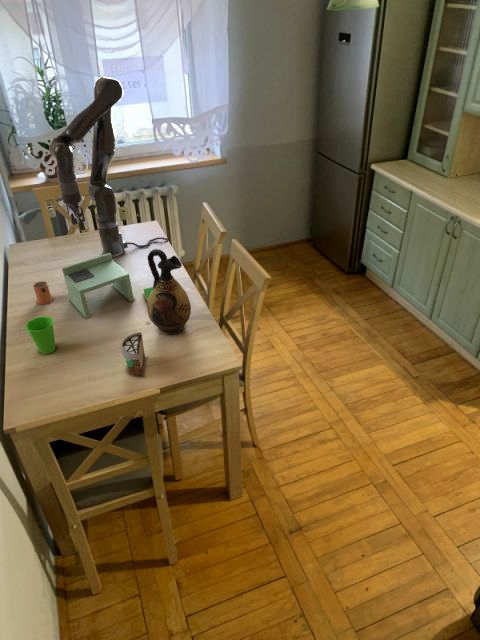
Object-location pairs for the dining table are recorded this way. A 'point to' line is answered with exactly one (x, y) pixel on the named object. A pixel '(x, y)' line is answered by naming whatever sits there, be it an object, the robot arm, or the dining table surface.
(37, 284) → the copper pot
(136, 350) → the food container
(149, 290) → the dish sponge
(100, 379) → the dining table surface
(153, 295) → the ceramic jug
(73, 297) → the shelf
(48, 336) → the cup
